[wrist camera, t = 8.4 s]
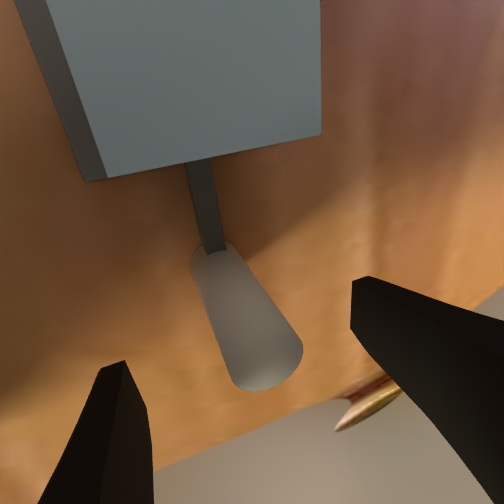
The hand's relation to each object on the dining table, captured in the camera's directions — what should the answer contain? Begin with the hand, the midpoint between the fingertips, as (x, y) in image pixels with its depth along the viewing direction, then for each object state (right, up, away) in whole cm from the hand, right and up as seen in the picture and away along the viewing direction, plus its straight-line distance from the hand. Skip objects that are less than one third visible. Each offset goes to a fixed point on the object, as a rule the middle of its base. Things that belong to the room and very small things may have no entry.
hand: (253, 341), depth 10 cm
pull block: (-2, +6, +2) cm, 7 cm away
